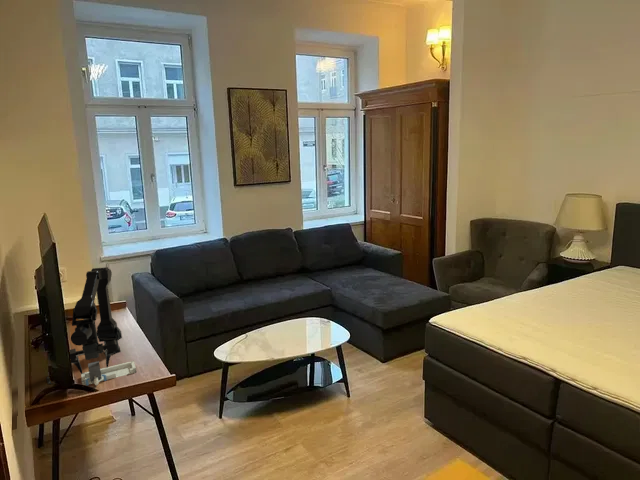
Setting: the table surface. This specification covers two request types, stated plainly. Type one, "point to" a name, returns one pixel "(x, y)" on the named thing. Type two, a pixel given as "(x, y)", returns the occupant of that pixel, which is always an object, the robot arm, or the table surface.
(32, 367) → the table surface
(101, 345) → the robot arm
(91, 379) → the cord plug
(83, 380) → the long open trough
